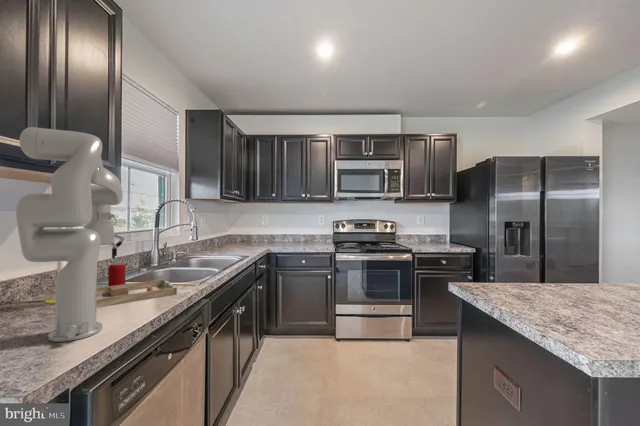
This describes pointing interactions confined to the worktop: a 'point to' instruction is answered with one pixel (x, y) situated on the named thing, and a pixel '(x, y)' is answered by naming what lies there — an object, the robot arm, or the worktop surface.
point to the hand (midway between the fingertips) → (99, 259)
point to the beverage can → (116, 274)
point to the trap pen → (136, 296)
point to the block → (120, 291)
